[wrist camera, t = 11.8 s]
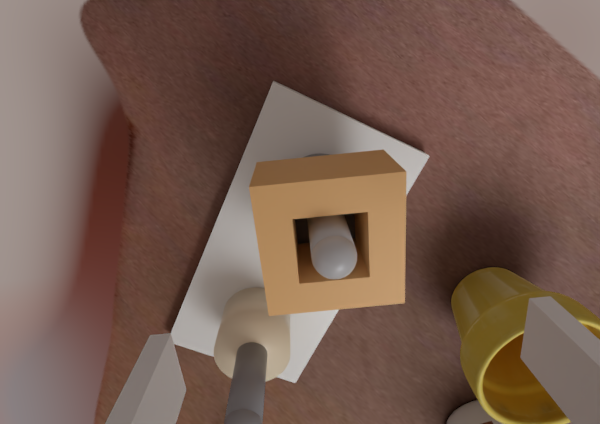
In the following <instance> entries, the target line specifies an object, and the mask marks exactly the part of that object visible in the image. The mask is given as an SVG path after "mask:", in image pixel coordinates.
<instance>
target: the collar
mask: <svg viewBox="0 0 600 424" xmlns="http://www.w3.org/2000/svg"><path fill="white" fill-rule="evenodd" d="M249 191H250V197H251V204H252V210H253V217H254V223H255V230H256V236H257V243H258V249H259V256H260V262H261V269H262V275H263V282H264V288H265V295H266V301H267V308H268V314H269V316H275V315H285V314H296V313H306V312H317V311H327V310H338V309H349V308H359V307H370V306H380V305H391V304H401V303H405V250H406V171H405V170H404V169H403V168H402V167H401V166H400V165H399V164H398V163H397V162H396V161H395V160H394V159H393V158H392V157H391V156H390V155H389V154H388V153H387V152H386V151H385V150H384V149H383V150H373V151H363V152H353V153H343V154H333V155H323V156H313V157H303V158H293V159H283V160H273V161H263V162H257V163H256V166H255V169H254V173H253V176H252V179H251V182H250V185H249ZM352 213H354V216H355V238H352V239H353V242H354V245H355V248H356V251H357V263H356V266H355V268H354V269H353V271H352V272H351V273H350V274H349V275H347V276H346V277H344V278H341V279H328V278H325V277H323V276H322V275H320V274H319V273H318V272H317V271H316V269H315V268H314V266H313V263H312V258H311V249H310V243H301V244H298V242H297V233H296V224H295V219H300V218H311V217H321V216H331V215H341V214H352Z"/></svg>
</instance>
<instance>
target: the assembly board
mask: <svg viewBox="0 0 600 424" xmlns="http://www.w3.org/2000/svg"><path fill="white" fill-rule="evenodd" d="M383 149H384V150H385V151H386V152H387V153H388V154H389V155H390V156H391V157H392V158H393V159H394V160H395V161H396V162H397V163H398V164H399V165H400V166H401V167H402V168H403V169H404V170H405V171H406V195H407V194H408V192H409V190H410V189H411V187H412V185H413V183H414V182H415V180H416V178H417V177H418V175H419V173H420V172H421V170H422V168H423V167H424V165H425V163H426V161H427V160H428V158H429V155H428V154H426V153H425V152H423V151H421V150H419V149H416V148H414V147H412V146H410V145H408V144H406V143H404V142H402V141H400V140H398V139H395V138H393V137H391V136H389V135H387V134H385V133H383V132H381V131H379V130H377V129H374V128H372V127H370V126H368V125H366V124H364V123H362V122H360V121H358V120H356V119H353V118H351V117H349V116H347V115H345V114H343V113H341V112H339V111H337V110H335V109H332V108H330V107H328V106H326V105H324V104H322V103H320V102H318V101H316V100H314V99H311V98H309V97H307V96H305V95H303V94H301V93H299V92H297V91H295V90H293V89H290V88H288V87H286V86H284V85H282V84H280V83H278V82H276V81H273V83H272V85H271V88H270V90H269V93H268V95H267V98H266V100H265V103H264V105H263V108H262V110H261V112H260V115H259V117H258V120H257V122H256V125H255V127H254V130H253V132H252V135H251V137H250V139H249V142H248V144H247V147H246V149H245V152H244V154H243V157H242V159H241V162H240V164H239V166H238V169H237V171H236V174H235V176H234V179H233V181H232V184H231V186H230V189H229V191H228V193H227V196H226V198H225V201H224V203H223V206H222V208H221V211H220V213H219V216H218V218H217V220H216V223H215V225H214V228H213V230H212V233H211V235H210V238H209V240H208V243H207V245H206V247H205V250H204V252H203V255H202V257H201V260H200V262H199V265H198V267H197V270H196V272H195V274H194V277H193V279H192V282H191V284H190V287H189V289H188V292H187V294H186V297H185V299H184V301H183V304H182V306H181V309H180V311H179V314H178V316H177V319H176V321H175V324H174V326H173V328H172V331H171V335H172V339H173V343H174V344H176V345H179V346H182V347H185V348H188V349H191V350H194V351H197V352H200V353H203V354H207V355H210V356H213V357H214V359H215V362H216V364H217V366H218V367H219V369H220V370H221V371H222V372H223V373H224V374H225V375H227V376H228V377H230V378H232V382H231V388H230V393H229V399H228V404H227V410H226V416H225V421H224V424H262V421H263V408H264V394H265V382H266V381H269V380H271V379H273V378H275V377H278V378H281V379H284V380H287V381H290V382H293V383H296V381H297V380H298V378H299V376H300V374H301V373H302V371H303V369H304V368H305V366H306V364H307V363H308V361H309V359H310V358H311V356H312V354H313V352H314V351H315V349H316V347H317V346H318V344H319V342H320V341H321V339H322V337H323V336H324V334H325V332H326V331H327V329H328V327H329V325H330V324H331V322H332V320H333V319H334V317H335V315H336V314H337V312H338V310H339V309H338V310H327V311H317V312H306V313H296V314H285V315H275V316H269V314H268V308H267V301H266V295H265V288H264V282H263V275H262V269H261V262H260V256H259V249H258V243H257V236H256V230H255V223H254V217H253V210H252V204H251V197H250V191H249V185H250V182H251V179H252V176H253V173H254V169H255V166H256V163H257V162H263V161H273V160H283V159H293V158H303V157H313V156H323V155H333V154H343V153H353V152H363V151H373V150H383ZM295 224H296V233H297V242H298V244H301V243H310V249H311V258H312V263H313V266H314V268H315V269H316V271H317V272H318V273H319V274H320V275H322V276H323V277H325V278H328V279H341V278H344V277H346V276H347V275H349V274H350V273H351V272H352V271H353V269H354V268H355V266H356V263H357V251H356V248H355V245H354V242H353V239H352V238H355V216H354V213H352V214H341V215H331V216H321V217H311V218H300V219H295Z"/></svg>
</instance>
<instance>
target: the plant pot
mask: <svg viewBox="0 0 600 424" xmlns="http://www.w3.org/2000/svg"><path fill="white" fill-rule="evenodd" d="M547 296H551V297H552V298H553V299H554V300H555V301H556V302H558V303H559V304H560V305H561V306H562V307H563V308H564V309H565V310H567V311H568V312H569V313H570V314H571V315H572V316H573V317H574V318H576V319H577V320H578V321H579V322H580V323H581V324H582V325H584V326H585V327H586V328H587V329H588V330H589V331H590V332H591V333H593V334H594V335H595V336H596V337H597V338H598V339H599V340H600V319H599V318H598V317H597V316H596V315H594V314H593V313H592V312H591V311H589V310H588V309H587V308H586V307H584V306H583V305H581V304H580V303H579V302H577V301H576V300H574V299H572V298H570V297H568V296H565V295H563V294H559V293H555V292H549V291H545V290H543V289H541V288H539V287H537V286H536V285H534V284H532V283H530V282H529V281H527V280H525V279H523V278H522V277H520V276H518V275H516V274H515V273H513V272H511V271H509V270H507V269H504V268H499V267H489V268H484V269H480V270H477V271H475V272H473V273H471V274H469V275H467V276H466V277H465V278H464V279H463V280H461V281H460V283H459V284H458V285H457V286H456V288H455V290H454V292H453V294H452V298H451V306H452V311H453V314H454V317H455V321H456V324H457V328H458V332H459V335H460V339H461V343H462V345H461V350H460V361H461V366H462V369H463V372H464V374H465V376H466V378H467V380H468V383H469V385H470V387H471V389H472V390H473V392H474V394H475V396H476V398H477V400H478V401H479V403H480V405H481V406H482V408H483V409H484V410H485V411H486V412H487V414H489V415H490V416H491V417H492V418H494V419H495V420H497V421H498V422H500V423H503V424H567V423H570V422H571V421H570V420H569V419H568V417H567V416H566V415H565V414H564V412H563V411H562V410H561V409H560V407H559V406H558V405H557V404H556V402H555V401H554V400H553V398H552V397H551V396H550V395H549V393H548V392H547V391H546V390H545V388H544V387H543V386H542V385H541V383H540V382H539V381H538V380H537V378H536V377H535V376H534V374H533V373H532V372H531V371H530V369H529V368H528V367H527V366H526V364H525V363H524V362H523V361H522V359H521V358H520V355H521V349H522V342H523V336H524V329H525V323H526V316H527V310H528V303H529V298H536V297H547Z"/></svg>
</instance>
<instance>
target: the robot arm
mask: <svg viewBox="0 0 600 424" xmlns="http://www.w3.org/2000/svg"><path fill="white" fill-rule="evenodd" d="M520 358H521V359H522V361H523V362H524V363H525V364H526V366H527V367H528V368H529V369H530V371H531V372H532V373H533V374H534V376H535V377H536V378H537V380H538V381H539V382H540V383H541V385H542V386H543V387H544V388H545V390H546V391H547V392H548V393H549V395H550V396H551V397H552V398H553V400H554V401H555V402H556V404H557V405H558V406H559V407H560V409H561V410H562V411H563V412H564V414H565V415H566V416H567V417H568V419H569V420H570V421H571V422H572V424H600V340H599V339H598V338H597V337H596V336H595V335H594V334H593V333H591V332H590V331H589V330H588V329H587V328H586V327H585V326H584V325H582V324H581V323H580V322H579V321H578V320H577V319H576V318H574V317H573V316H572V315H571V314H570V313H569V312H568V311H567V310H565V309H564V308H563V307H562V306H561V305H560V304H559V303H558V302H556V301H555V300H554V299H553V298H552V297H551V296H547V297H536V298H529V303H528V310H527V316H526V323H525V329H524V336H523V342H522V349H521V355H520ZM185 393H186V387H185V383H184V379H183V376H182V372H181V368H180V365H179V361H178V357H177V354H176V350H175V346H174V343H173V339H172V335H171V333H167V334H157V335H150V336H149V338H148V340H147V342H146V344H145V346H144V348H143V350H142V352H141V354H140V356H139V358H138V360H137V362H136V364H135V366H134V368H133V370H132V372H131V374H130V376H129V378H128V380H127V382H126V384H125V385H124V387H123V389H122V391H121V393H120V395H119V397H118V399H117V401H116V403H115V405H114V407H113V409H112V411H111V413H110V415H109V417H108V419H107V421H106V423H105V424H176V421H177V418H178V415H179V412H180V409H181V405H182V402H183V399H184V396H185Z"/></svg>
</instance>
